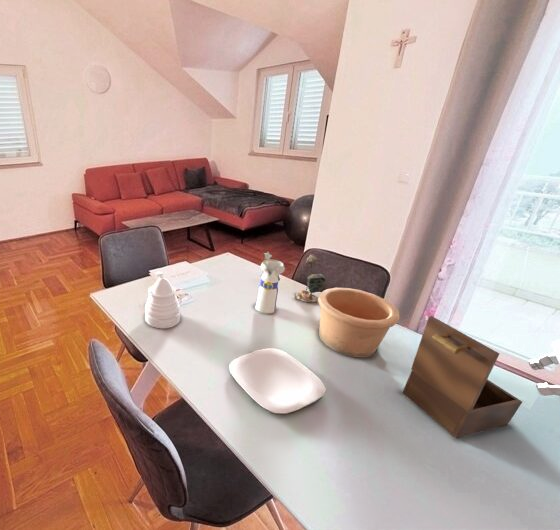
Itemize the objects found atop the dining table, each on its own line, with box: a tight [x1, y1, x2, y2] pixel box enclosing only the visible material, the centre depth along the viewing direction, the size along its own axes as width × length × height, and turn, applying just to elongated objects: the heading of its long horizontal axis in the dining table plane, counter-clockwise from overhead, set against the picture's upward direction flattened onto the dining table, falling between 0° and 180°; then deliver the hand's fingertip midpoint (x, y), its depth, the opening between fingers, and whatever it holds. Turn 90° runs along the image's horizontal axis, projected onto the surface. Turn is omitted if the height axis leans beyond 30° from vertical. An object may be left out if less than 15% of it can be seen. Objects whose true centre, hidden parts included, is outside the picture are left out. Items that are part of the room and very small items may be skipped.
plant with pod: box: [294, 254, 326, 303], centre depth 125 cm, size 8×11×20 cm
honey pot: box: [144, 270, 181, 329], centre depth 112 cm, size 13×13×18 cm
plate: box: [228, 347, 327, 415], centre depth 87 cm, size 22×22×2 cm
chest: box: [401, 370, 523, 439], centre depth 78 cm, size 16×14×8 cm
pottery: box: [317, 287, 400, 358], centre depth 101 cm, size 22×22×14 cm
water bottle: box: [254, 251, 286, 315], centre depth 117 cm, size 8×8×25 cm
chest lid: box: [410, 315, 500, 413], centre depth 71 cm, size 16×14×4 cm
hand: (534, 377), depth 68 cm, fingers open, 8 cm apart
